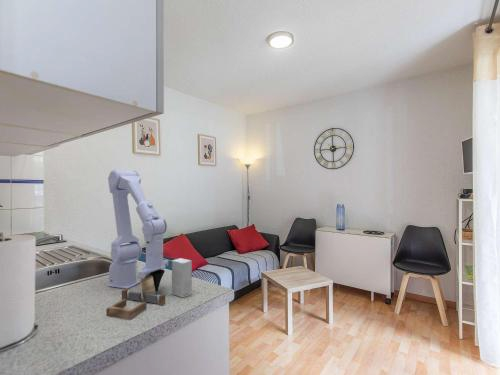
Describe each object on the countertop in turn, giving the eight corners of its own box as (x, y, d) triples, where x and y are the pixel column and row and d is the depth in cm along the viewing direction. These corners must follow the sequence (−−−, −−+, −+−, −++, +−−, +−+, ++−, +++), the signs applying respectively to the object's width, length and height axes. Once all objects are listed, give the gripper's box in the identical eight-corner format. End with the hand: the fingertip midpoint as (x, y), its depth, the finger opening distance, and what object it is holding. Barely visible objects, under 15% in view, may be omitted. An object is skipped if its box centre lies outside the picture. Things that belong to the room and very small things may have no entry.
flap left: (126, 299, 88) (126, 291, 88) (128, 298, 89) (128, 290, 89) (139, 301, 87) (139, 293, 87) (141, 300, 88) (141, 292, 88)
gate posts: (121, 299, 88) (121, 290, 88) (124, 297, 90) (124, 289, 90) (162, 305, 84) (162, 296, 84) (165, 303, 85) (165, 294, 85)
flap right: (160, 303, 86) (160, 294, 86) (158, 304, 85) (158, 295, 85) (147, 301, 87) (147, 293, 87) (145, 302, 86) (145, 294, 86)
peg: (141, 299, 89) (137, 281, 87) (148, 291, 92) (144, 274, 91) (151, 300, 88) (148, 282, 86) (158, 292, 92) (155, 275, 90)
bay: (106, 315, 77) (106, 307, 77) (123, 305, 84) (123, 297, 84) (130, 319, 75) (130, 311, 75) (146, 308, 82) (146, 301, 82)
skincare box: (192, 294, 93) (192, 260, 93) (182, 298, 90) (183, 263, 90) (180, 290, 97) (180, 257, 97) (171, 294, 93) (171, 260, 93)
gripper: (151, 259, 84) (151, 301, 84) (175, 249, 98) (175, 285, 98) (132, 257, 86) (132, 299, 86) (159, 247, 100) (158, 283, 100)
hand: (154, 291), depth 93 cm, fingers closed
